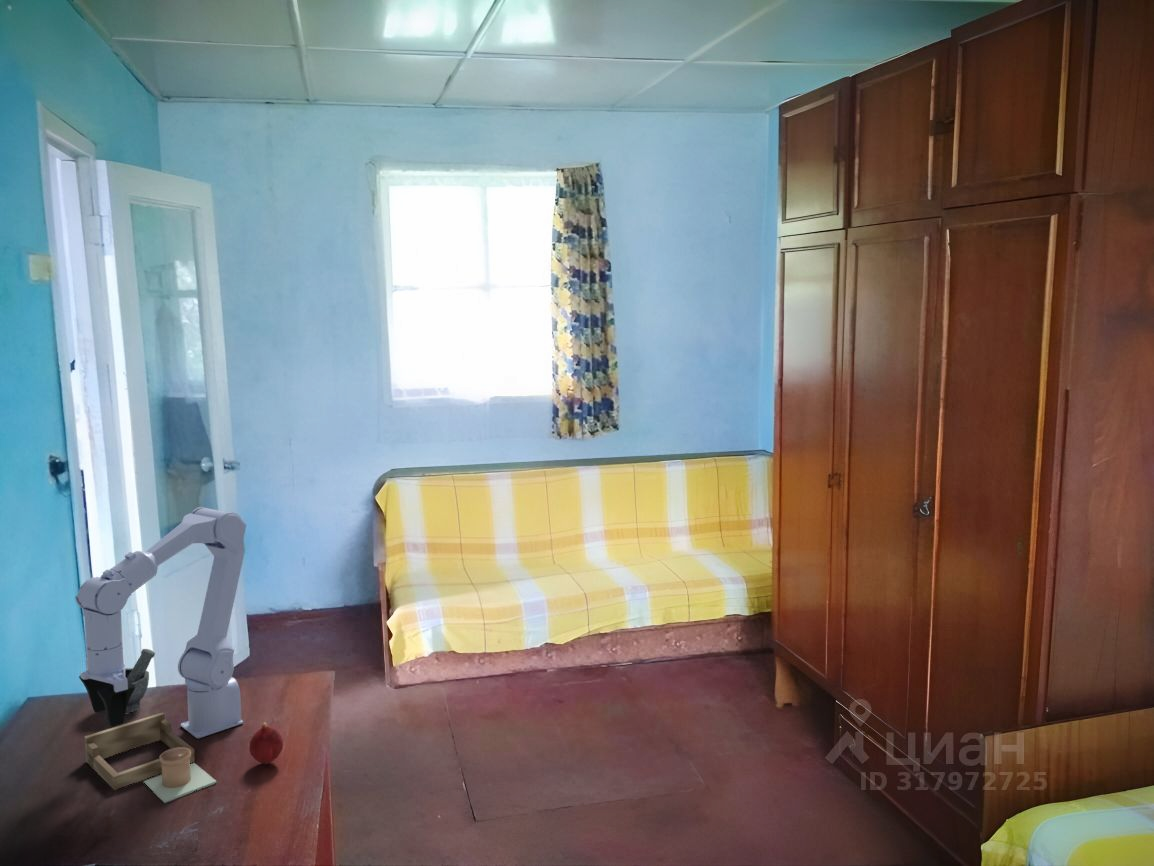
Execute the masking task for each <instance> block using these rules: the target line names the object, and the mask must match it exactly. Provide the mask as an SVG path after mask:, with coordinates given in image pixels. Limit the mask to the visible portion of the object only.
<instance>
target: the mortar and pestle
mask: <svg viewBox="0 0 1154 866" xmlns="http://www.w3.org/2000/svg"><path fill="white" fill-rule="evenodd" d="M155 654H156V652H155V651H153V650H152V649H149V648H142V650H141V651H140V656H139V658H138V660H137V661H136V662H135V663H134V665H133V668H132V667H131V668H129V667H128V668H127V667H125V677H126V678H127V682H128V684H130V683H132V684H133V685H135V690H134V692H133V693H132V695H131V697H130V699H129V702H128V705H127V709H126V713H129V712H132V711H135V710H137V709H138V710H140V709H141V706H142V702H141V700H142V699H143V698H144V697H145V694H146V692H147V689H148V687H149V682H150V681H149V680H150V672H149V671H148V670H147V669H148V667H149V665H150V663H151V660H152V659H153V658H155ZM139 708H140V709H139ZM138 710H137V711H138ZM135 712H136V711H135ZM129 714H130V713H129Z"/></svg>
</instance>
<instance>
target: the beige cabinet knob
mask: <svg viewBox="0 0 1154 866" xmlns="http://www.w3.org/2000/svg"><path fill="white" fill-rule="evenodd" d="M190 758H191V750H190V749H188V748H184V747H179V748H173V749H171V748H169V749H167V750H165V751H163V752H161V754H160V755H159V758H158V759H160V764H161V767H162V774H161V775H162V785H163V786H164V787H167V788H176V787H180V786H183V785H185V784H187V783H188V782H189V781H190V780H191V771H190Z"/></svg>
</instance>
